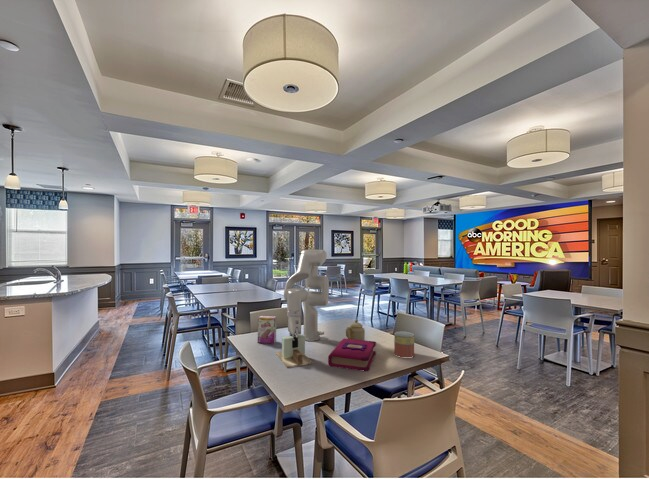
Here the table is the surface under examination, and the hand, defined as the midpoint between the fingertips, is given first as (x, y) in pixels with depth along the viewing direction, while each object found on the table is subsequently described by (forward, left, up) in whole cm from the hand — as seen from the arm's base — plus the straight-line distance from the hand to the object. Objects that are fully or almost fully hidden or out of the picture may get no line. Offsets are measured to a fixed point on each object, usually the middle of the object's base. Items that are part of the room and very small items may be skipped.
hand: (293, 345), depth 167 cm
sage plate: (0, 0, -5) cm, 5 cm away
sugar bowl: (-46, -11, -7) cm, 48 cm away
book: (-30, +14, -8) cm, 34 cm away
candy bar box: (+7, -33, -7) cm, 34 cm away
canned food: (-61, +19, -7) cm, 64 cm away
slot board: (0, 0, -7) cm, 7 cm away
